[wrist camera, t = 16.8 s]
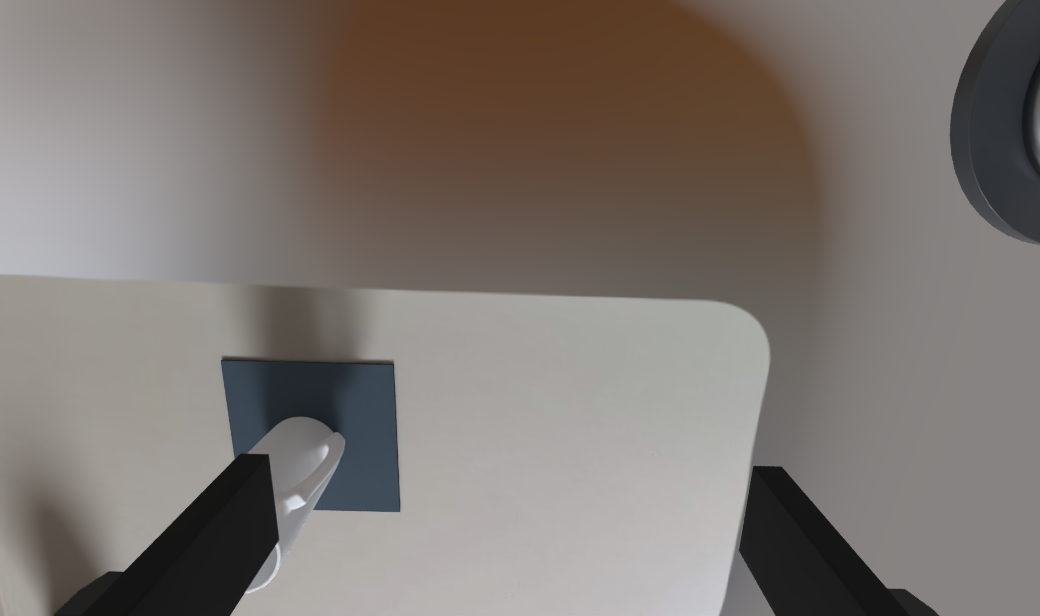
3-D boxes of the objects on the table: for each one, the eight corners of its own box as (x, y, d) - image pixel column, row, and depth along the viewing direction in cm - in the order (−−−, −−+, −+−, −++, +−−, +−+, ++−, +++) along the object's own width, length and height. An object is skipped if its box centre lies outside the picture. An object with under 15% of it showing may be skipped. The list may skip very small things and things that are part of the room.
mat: (393, 364, 41) (393, 365, 41) (400, 510, 45) (399, 512, 45) (222, 359, 41) (220, 360, 41) (242, 506, 45) (241, 508, 45)
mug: (299, 495, 44) (221, 611, 33) (248, 438, 43) (148, 537, 31) (391, 440, 43) (343, 541, 31) (342, 379, 41) (273, 460, 30)
